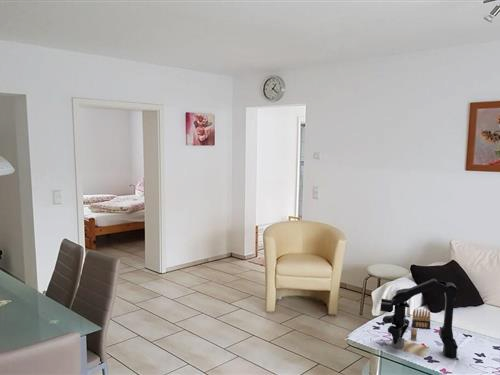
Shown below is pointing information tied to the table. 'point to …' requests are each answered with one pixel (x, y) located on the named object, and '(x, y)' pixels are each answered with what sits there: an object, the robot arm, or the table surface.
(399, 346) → the box
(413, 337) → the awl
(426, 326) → the ammunition clip
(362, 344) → the table surface
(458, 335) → the table surface
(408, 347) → the board
